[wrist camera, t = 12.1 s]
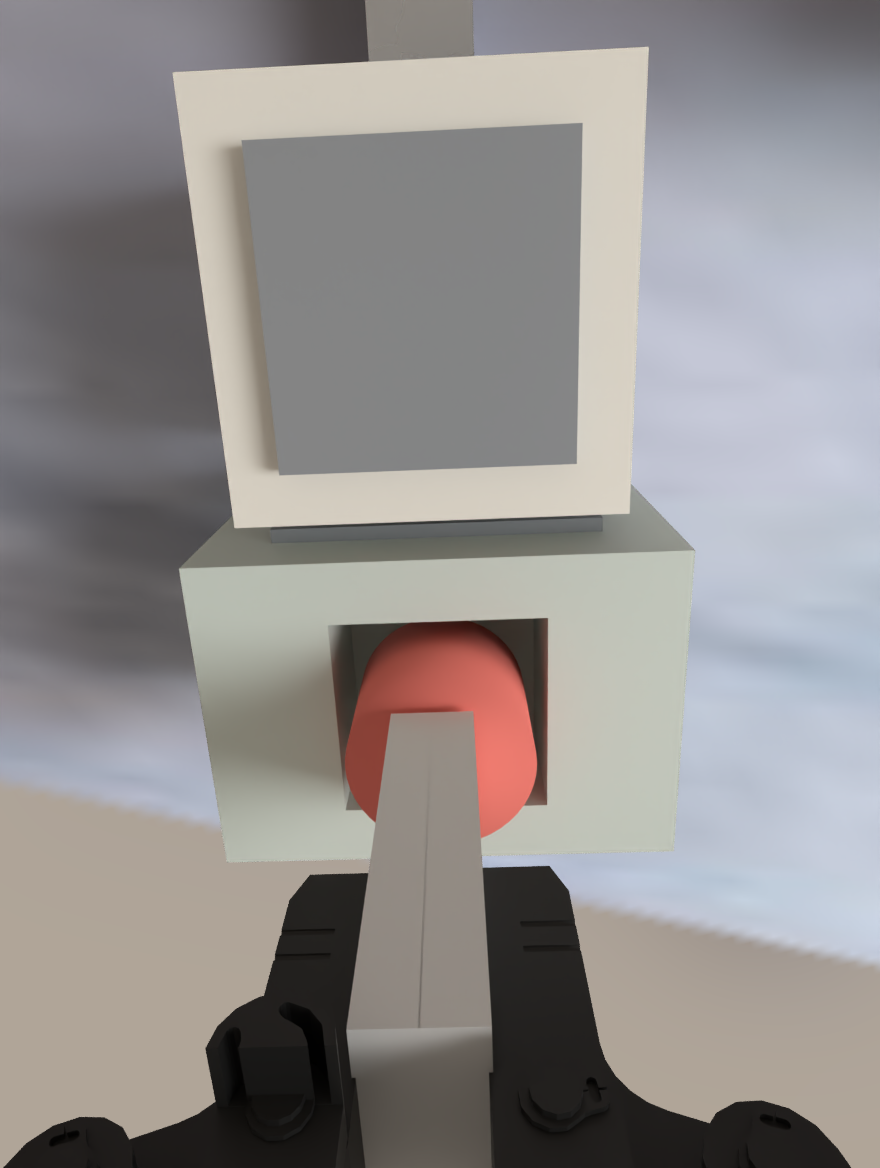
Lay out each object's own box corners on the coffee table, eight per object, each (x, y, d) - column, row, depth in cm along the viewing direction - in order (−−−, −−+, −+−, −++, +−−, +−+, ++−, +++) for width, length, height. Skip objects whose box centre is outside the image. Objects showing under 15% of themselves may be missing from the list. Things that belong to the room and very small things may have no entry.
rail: (349, -390, 17) (333, -499, 15) (459, -398, 17) (460, -508, 15) (403, 500, 24) (397, 522, 22) (481, 497, 24) (484, 518, 22)
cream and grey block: (288, 166, 20) (163, 64, 11) (566, 152, 20) (655, 37, 11) (315, 442, 22) (229, 534, 14) (563, 433, 22) (634, 519, 13)
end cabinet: (274, 462, 24) (176, 554, 15) (608, 449, 23) (696, 535, 15) (299, 680, 26) (227, 862, 18) (601, 670, 26) (673, 851, 17)
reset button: (356, 619, 17) (336, 683, 14) (522, 613, 17) (537, 677, 14) (368, 763, 18) (353, 847, 15) (524, 758, 18) (537, 842, 15)
